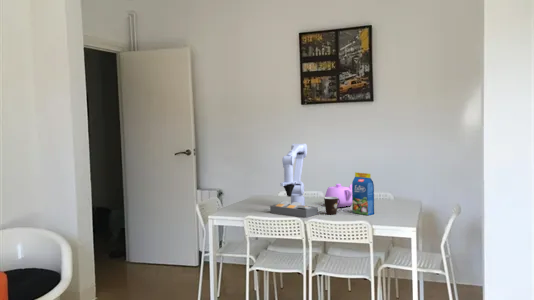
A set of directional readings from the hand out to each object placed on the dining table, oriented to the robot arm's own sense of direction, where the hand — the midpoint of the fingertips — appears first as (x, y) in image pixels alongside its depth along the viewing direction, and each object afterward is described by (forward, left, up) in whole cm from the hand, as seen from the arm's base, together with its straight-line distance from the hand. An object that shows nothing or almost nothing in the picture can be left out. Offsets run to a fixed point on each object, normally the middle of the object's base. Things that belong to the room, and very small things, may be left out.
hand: (289, 196), depth 299 cm
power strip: (+1, +4, -10) cm, 11 cm away
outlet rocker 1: (+1, -5, -6) cm, 8 cm away
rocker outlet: (+1, +13, -6) cm, 14 cm away
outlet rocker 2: (+1, +4, -6) cm, 7 cm away
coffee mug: (-12, +25, -11) cm, 30 cm away
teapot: (-37, +14, -11) cm, 41 cm away
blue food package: (-22, +40, -11) cm, 47 cm away
